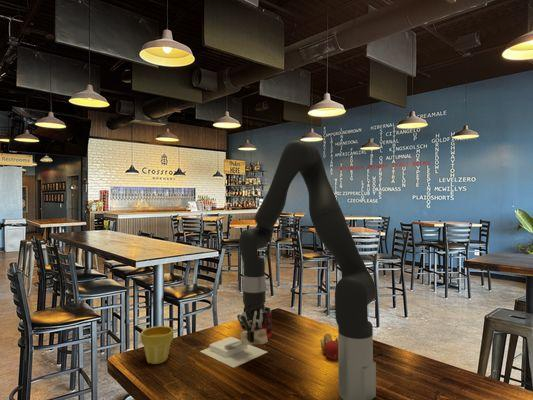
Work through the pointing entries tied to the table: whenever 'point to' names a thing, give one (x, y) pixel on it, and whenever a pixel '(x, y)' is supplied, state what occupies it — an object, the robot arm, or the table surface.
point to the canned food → (267, 325)
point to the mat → (236, 356)
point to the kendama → (329, 347)
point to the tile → (226, 352)
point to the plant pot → (157, 343)
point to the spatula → (259, 338)
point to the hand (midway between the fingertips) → (254, 340)
